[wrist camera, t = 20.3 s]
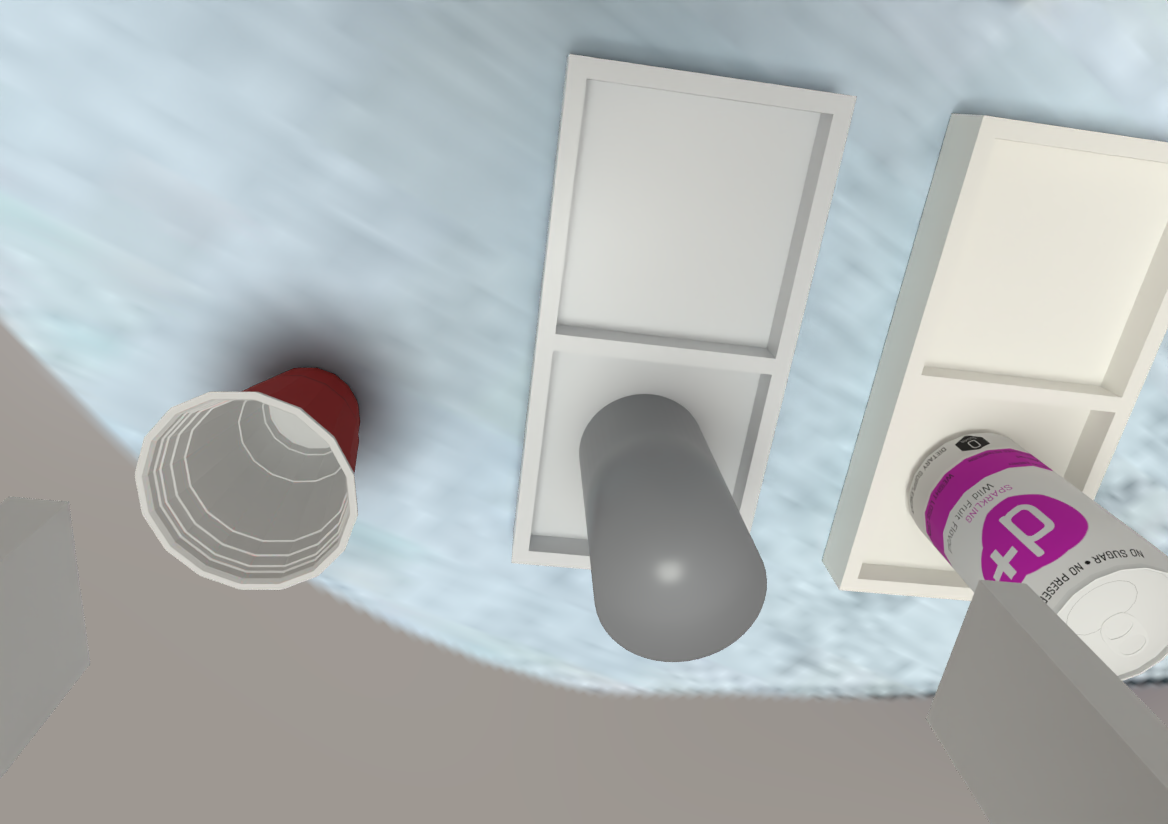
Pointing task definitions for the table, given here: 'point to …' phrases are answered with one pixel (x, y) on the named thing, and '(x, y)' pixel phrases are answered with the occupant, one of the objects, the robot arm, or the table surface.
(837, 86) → the table surface
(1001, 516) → the supplement can
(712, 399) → the tray
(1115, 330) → the tray
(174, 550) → the plastic cup
